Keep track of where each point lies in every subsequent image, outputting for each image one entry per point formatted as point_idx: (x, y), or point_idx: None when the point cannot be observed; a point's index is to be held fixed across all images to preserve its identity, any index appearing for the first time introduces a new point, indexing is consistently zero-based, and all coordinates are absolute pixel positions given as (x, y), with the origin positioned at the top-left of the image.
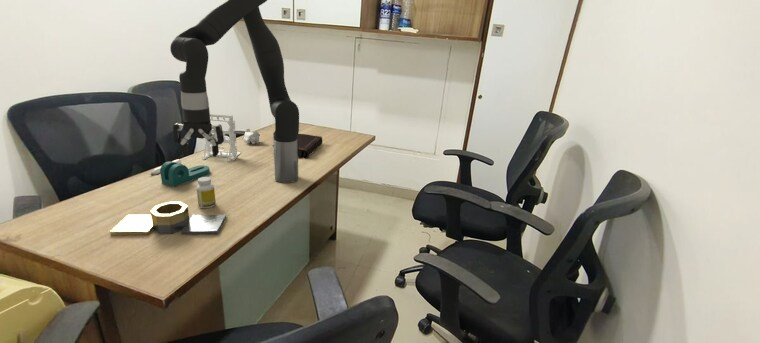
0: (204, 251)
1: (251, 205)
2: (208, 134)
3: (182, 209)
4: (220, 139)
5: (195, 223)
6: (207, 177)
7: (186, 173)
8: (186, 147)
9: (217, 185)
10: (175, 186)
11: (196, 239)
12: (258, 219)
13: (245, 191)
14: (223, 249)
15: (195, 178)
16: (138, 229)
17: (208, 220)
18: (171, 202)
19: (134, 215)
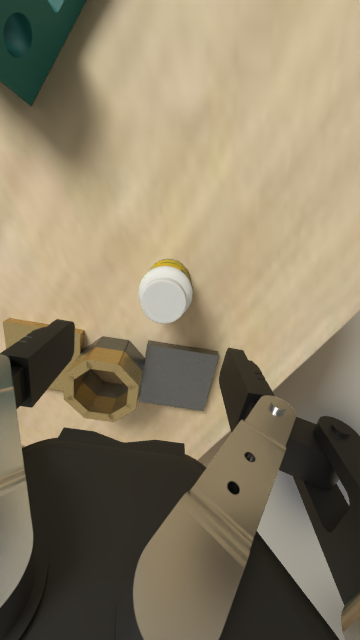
0: (186, 442)
1: (279, 299)
2: (228, 472)
3: (131, 399)
4: (335, 514)
5: (159, 380)
6: (172, 289)
7: (39, 11)
8: (43, 387)
9: (183, 114)
10: (33, 100)
11: (168, 412)
12: (283, 366)
13: (276, 195)
14: (214, 442)
15: (82, 1)
16: (59, 384)
17: (183, 373)
18: (94, 364)
19: (19, 328)
